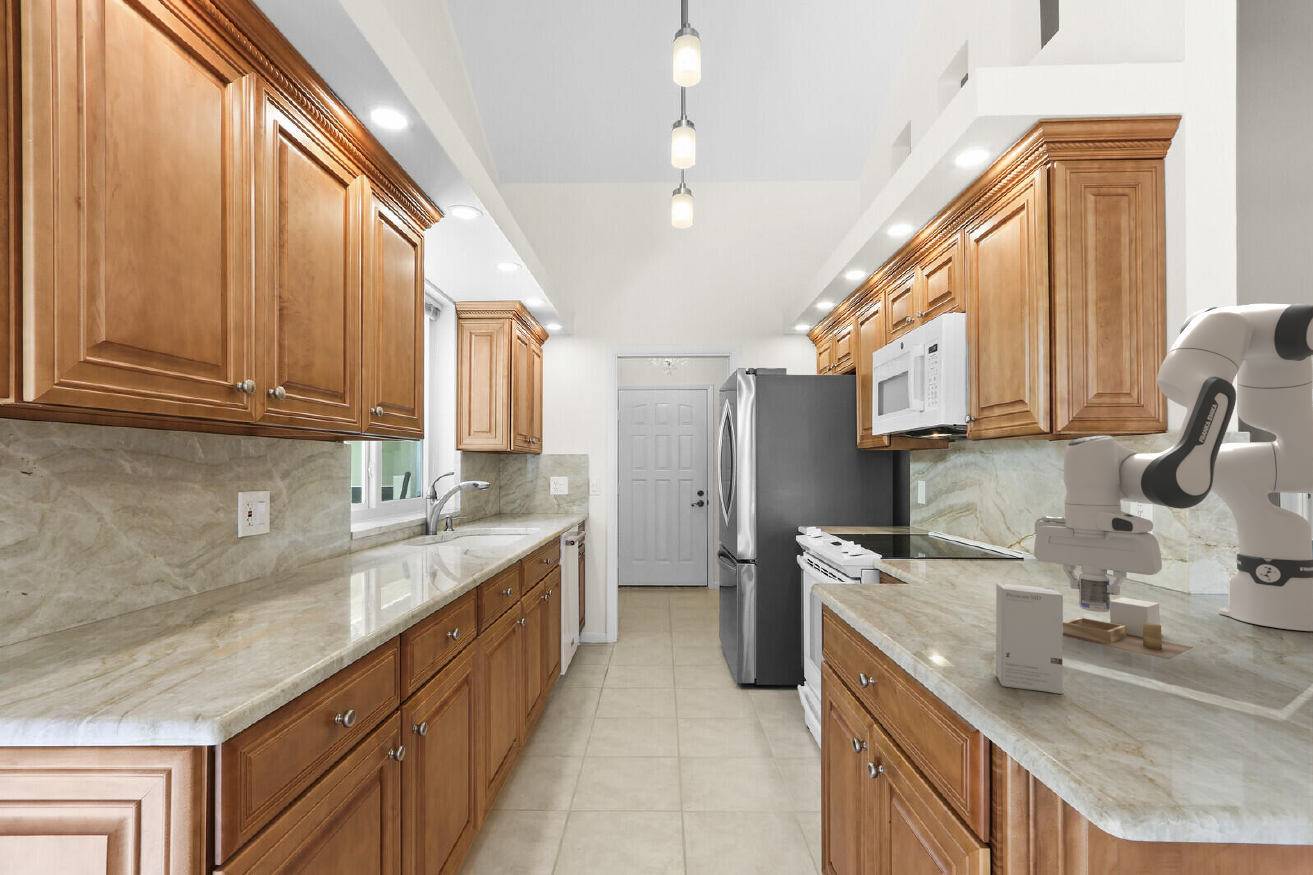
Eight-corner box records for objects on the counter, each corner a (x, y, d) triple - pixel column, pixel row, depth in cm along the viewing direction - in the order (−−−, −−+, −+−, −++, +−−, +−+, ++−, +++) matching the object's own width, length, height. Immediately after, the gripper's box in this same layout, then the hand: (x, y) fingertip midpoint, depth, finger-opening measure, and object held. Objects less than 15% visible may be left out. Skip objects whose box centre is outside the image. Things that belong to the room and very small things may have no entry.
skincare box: (1001, 687, 91) (999, 588, 92) (995, 674, 96) (993, 581, 97) (1066, 695, 88) (1063, 593, 88) (1056, 681, 93) (1053, 585, 94)
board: (1084, 631, 122) (1084, 605, 122) (1193, 653, 107) (1192, 624, 108) (1056, 640, 115) (1056, 613, 115) (1168, 666, 101) (1167, 634, 101)
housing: (1123, 632, 121) (1122, 597, 121) (1160, 639, 116) (1159, 603, 116) (1110, 636, 118) (1109, 601, 118) (1148, 644, 113) (1147, 607, 113)
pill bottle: (1115, 613, 112) (1114, 568, 112) (1086, 611, 113) (1086, 566, 113) (1101, 607, 117) (1101, 563, 117) (1074, 605, 118) (1074, 562, 118)
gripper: (1027, 516, 123) (1028, 584, 122) (1150, 524, 106) (1153, 603, 105) (1041, 515, 126) (1043, 581, 126) (1163, 522, 109) (1166, 599, 108)
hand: (1094, 591), depth 115 cm, fingers closed on pill bottle, 5 cm apart
